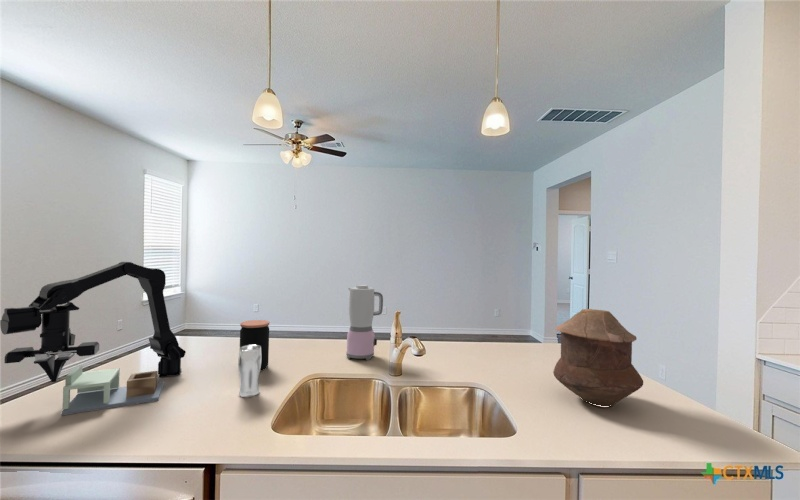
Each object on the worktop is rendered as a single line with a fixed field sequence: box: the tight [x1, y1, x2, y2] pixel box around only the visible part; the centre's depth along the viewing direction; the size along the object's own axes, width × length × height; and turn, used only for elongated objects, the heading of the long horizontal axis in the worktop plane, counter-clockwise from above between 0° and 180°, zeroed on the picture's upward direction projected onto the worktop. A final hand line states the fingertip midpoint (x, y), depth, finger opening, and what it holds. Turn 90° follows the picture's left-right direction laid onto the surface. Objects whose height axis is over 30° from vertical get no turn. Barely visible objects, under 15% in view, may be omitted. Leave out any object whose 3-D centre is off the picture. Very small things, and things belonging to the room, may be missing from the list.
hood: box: [62, 364, 121, 410], centre depth 104 cm, size 10×13×9 cm
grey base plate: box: [61, 381, 165, 416], centre depth 107 cm, size 22×14×4 cm, turn 119°
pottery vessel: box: [552, 308, 644, 406], centre depth 115 cm, size 26×26×30 cm
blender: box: [345, 284, 384, 362], centre depth 155 cm, size 16×12×32 cm
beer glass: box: [237, 345, 262, 398], centre depth 113 cm, size 7×7×15 cm
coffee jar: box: [239, 319, 270, 372], centre depth 137 cm, size 11×11×18 cm
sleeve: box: [126, 370, 159, 398], centre depth 110 cm, size 7×7×5 cm
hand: (54, 381), depth 100 cm, fingers closed
